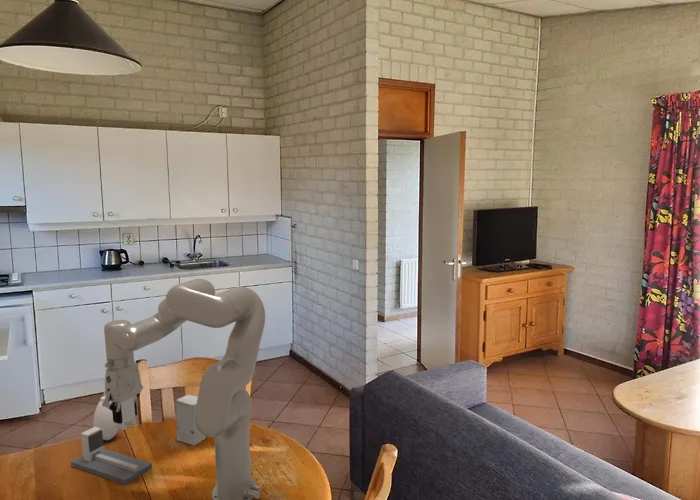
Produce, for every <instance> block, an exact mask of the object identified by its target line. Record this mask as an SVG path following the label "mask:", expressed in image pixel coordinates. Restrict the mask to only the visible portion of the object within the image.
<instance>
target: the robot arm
mask: <svg viewBox="0 0 700 500" xmlns="http://www.w3.org/2000/svg"><path fill="white" fill-rule="evenodd" d="M261 299H262V298H261V297H260V296H259V295H258V294H257V292H255V291H254V290H253V289H251V288H249V287H246V286H238V287H233V288H229V289H227V290H225V291H224V290H223V291H221V292H219V293H217V294H216V289H215V286H214V285H213V284H212V283H211V281H209V280H207V279H204V278H196V279H195V278H194V279H192V280H188V281H184V282H181V283H178V284H175V285H174V286H172V287H171V288H170V289H169V290H168V291H167V293H166V295H165V298H164V299H163V300H161V301H160V302H159V304H158V306H157V313H155V314H154V315H151V316H150V317H148V318H144V319H143V320H139V321H137V322H135V323H134V322H133V323H131V322H130V321H129V320H127V319H117V320H116V319H115V320H111V321H108V322H107V323H106V324H104V327H103V332H104V333H103V334H104V342H105V345H104V346H105V355H106V363H105V364H104V367H105V368H106V369H105V376H104V377H105V379H104V390H105V396H106V397H105V399H104V401H103V404H102V406H104V407H107V408H108V409H110V410H111V411H112V413H113V422H114V423H119V424H121V423H122V422H123V420H122V411H120V405H121V402H123V401H125V400H127V399H129V398H131V397H133V396H134V404H135V405H134V407H135V416H137V415H138V408H137V407H138V405H137V403H138V401H139V397H140V394H141V392H142V391H143V389H144V385H142V379H141V374H140V370H139V366H138V363H137V362H136V361H135V354H134V352H136V351H138V350H140V349H144V347H147V346H149V345H152V344H155V343H156V342H159V341H160V340H162V339H163V338H166V337H167V336H168V335H171V333H173V332H174V331H176V330H177V329H178V328H179V327H180V326H181V325H182V324H184V323H186V322H187V321H188V322H190V323H195V324H198V325H201V326H205V327H208V328H213V329H221V328H224V327H226V326H229V325H231V324H233V323H234V325H233V327H232V330H231V332H230V334H229V335H228V336H229V337H228V340H227V344H226V345H227V347H226V350H225V353H224V356H222V358H221V359H219V361H217V362H215V363H213V364H212V365H211V366H209V367H208V368H207V369H206V370H205V371H204V373H203V375H202V378H201V381H200V386H199V390H198V395H197V397H198V399H197V404H196V409H195V423H196V426H197V428H198V430H199V431H200V432H201V433H202V434H203V435H204V436H205V437H206V438H207V437H208V438H214V453H215V455H214V456H215V473H216V474H215V476H216V485H215V486H214V487H213V489H212V491H211V499H212V500H253V499H257V500H258V499H259V498H260V496H261V491H262V486H260V485H256V482H255V478H254V477H252V476H251V475H252V474H251V470H252V469H251V453H250V452H251V448H250V447H251V446H250V420H251V411H252V399H251V395H250V393H249V391H248V390H247V389H246V388H245V387H246V386H247V385H249V384H250V382H251V381H252V380H253V377H254V374H255V369H256V364H257V360H258V355H259V350H260V344H261V341H262V337H263V333H264V329H265V324H266V310H265V305H264V303H263V301H262V300H261ZM110 401H111V404H110ZM115 403H116V406H115Z"/></svg>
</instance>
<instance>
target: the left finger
mask: <svg viewBox="0 0 700 500" xmlns="http://www.w3.org/2000/svg"><path fill="white" fill-rule="evenodd" d="M134 405H135V404H134V396H133V397H131V398H129V399H127V400H125V401H123V402H121V405H120V411H122V420H123V422H122V423H121V424H119V423H115V424H116V429H118V430H120V431H124V430H126V429H127V428H126V427H127V426H126V424H131V425H134V424H136V423H137V419H136V416H137V415H136V416H135V407H134ZM115 406H116V403H115Z"/></svg>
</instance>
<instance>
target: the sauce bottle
mask: <svg viewBox="0 0 700 500" xmlns="http://www.w3.org/2000/svg"><path fill="white" fill-rule="evenodd" d="M105 397H106V394H105V389H103V396H101V397H100V400H99V401H98V403H97V406H96V408H95V411H94V415H93V427H98V428H101V430H102V434H103V441H110V440H111V439H113V438H114V437H115V436H116V435H117V433H118V430H119V429H116V424H115V423H114V422H113V413H112V411H111V410H110V409H108V408H107V407H104V406H102V404H103V401H104V399H105ZM110 404H111V401H110Z"/></svg>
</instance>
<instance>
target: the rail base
mask: <svg viewBox="0 0 700 500" xmlns="http://www.w3.org/2000/svg"><path fill="white" fill-rule="evenodd" d="M80 435H81V436H80V437H81V438H80V439H81V447H82V449H81V450H82V455H80V456H79V457H77V458H75V459H73V460H71V461H70V466H71V467H72V466H73V468H76V469H77V470H78V469H79V470H82V471H85V472H88V473H91V474H93V475H96V476H98V477H102V478H105V479H108V480H111V481H114V482H116V483H120V484H122V485H125V486H126V485H128V484H130V483H132V482H133V481H134V480H136V479H138V478H139V477H140V476H141V475H144V474H145V473H146V472H148V471H149V470H151V469H152V468H153V466H152V465H153V463H151V462H148V461H146V460H142V459H138V458H135V457H132V456H130V455H126V454H122V453H119V452H116V451H113V450H110V449H106V448H104V447H103V446H104V440H103V434H102V430H101V428H98V427H94V426H93V427H91V428H89V429H86V430H85V431H83V432H81V434H80Z"/></svg>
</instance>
